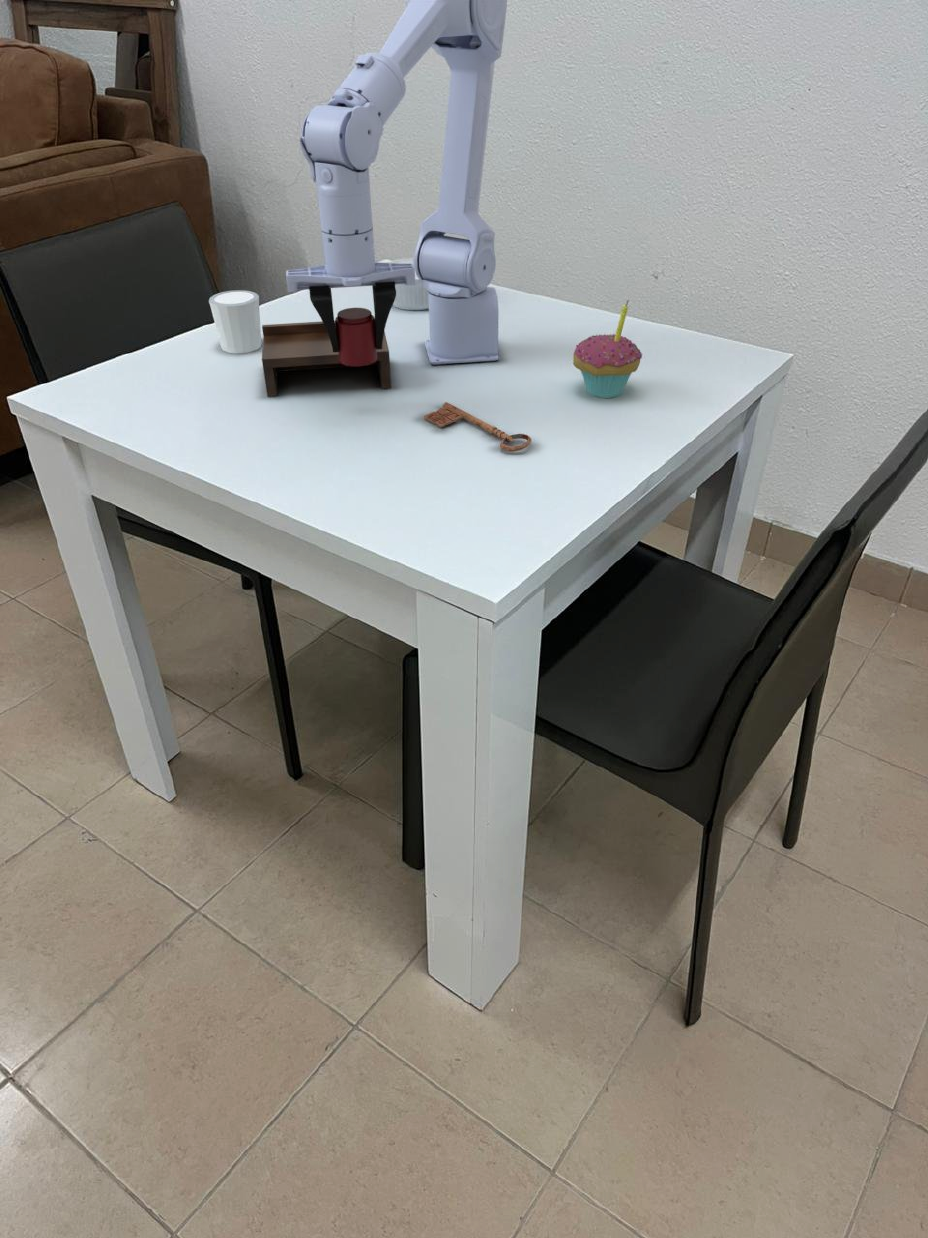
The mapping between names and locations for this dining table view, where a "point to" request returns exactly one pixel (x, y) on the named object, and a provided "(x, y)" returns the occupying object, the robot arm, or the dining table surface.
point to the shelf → (307, 352)
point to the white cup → (237, 320)
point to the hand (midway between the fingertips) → (356, 347)
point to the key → (453, 414)
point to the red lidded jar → (356, 337)
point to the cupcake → (607, 361)
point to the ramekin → (410, 292)
